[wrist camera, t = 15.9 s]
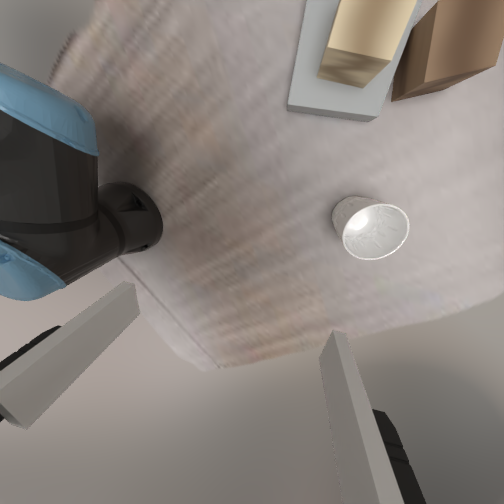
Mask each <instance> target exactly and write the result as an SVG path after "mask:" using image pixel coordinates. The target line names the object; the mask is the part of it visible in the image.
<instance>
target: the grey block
mask: <svg viewBox="0 0 504 504" xmlns="http://www.w3.org/2000/svg"><path fill="white" fill-rule="evenodd" d="M338 3H339V0H307V3H306V8H305V14H304V19H303V24H302V30H301V35H300V40H299V46H298V51H297V56H296V62H295V67H294V72H293V78H292V83H291V88H290V94H289V99H288V104H287V111H292V112H299V113H306V114H314V115H321V116H328V117H335V118H342V119H349V120H357V121H364V122H369V121H371V120H373V119H375V118H377V117H378V116H379V113H380V111H381V108H382V105H383V103H384V100H385V98H386V95H387V92H388V90H389V87H390V84H391V82H392V79H393V76H394V74H395V71H396V69H397V66H398V63H399V61H400V58H401V55H402V53H403V50H404V47H405V45H406V42H407V40H408V37H409V34H410V32H411V29H412V26H413V24H414V21H415V18H416V16H417V13H418V11H419V8H420V5H421V3H422V0H417V2H416V4H415V7H414V9H413V11H412V14H411V16H410V18H409V21H408V23H407V26H406V28H405V30H404V33H403V35H402V37H401V40H400V42H399V44H398V47H397V49H396V51H395V54H394V56H393V59H392V61H391V62H390V63H389V64H388V65H387V66H386V67H385V68H384V69H383V70H382V71H381V72H380V73H378V74H377V75H376V76H375V77H374V78H373V79H372V80H371V81H370V82H369V83H368V84H367V85H366V86H365V87H364V88H359V87H355V86H350V85H346V84H341V83H337V82H333V81H328V80H324V79H319V78H317V74H318V71H319V68H320V64H321V61H322V57H323V54H324V51H325V47H326V44H327V40H328V37H329V33H330V30H331V27H332V23H333V20H334V16H335V13H336V10H337V6H338Z"/></svg>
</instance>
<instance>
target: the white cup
mask: <svg viewBox="0 0 504 504" xmlns="http://www.w3.org/2000/svg"><path fill="white" fill-rule="evenodd" d="M331 219H332V222H333V225H334V228H335V230H336V232H337V234H338V236H339V238H340V240H341V241H342V243H343V245H344V247H345V249H346V250H347V251H348V252H349V253H350V254H351V255H352V256H354V257H356V258H359V259H363V260H375V259H380V258H383V257H386V256H388V255H390V254H392V253H393V252H395V251H396V250H397V249H398V248H399V247H400V246H401V245H402V244H403V243H404V241H405V240H406V238H407V236H408V233H409V227H410V225H409V220H408V217H407V215H406V214H405V213H404V211H403V210H401V209H400V208H398V207H396V206H394V205H391V204H387V203H384V202H381V201H378V200H374V199H370V198H366V197H359V196H352V197H347V198H345V199H343V200H342V201H340V202H339V203H338V204H337V205H336V207H335V208H334V210H333V212H332V218H331Z"/></svg>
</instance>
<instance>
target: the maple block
mask: <svg viewBox="0 0 504 504" xmlns="http://www.w3.org/2000/svg"><path fill="white" fill-rule="evenodd" d="M416 2H417V0H339V3H338V6H337V10H336V13H335V16H334V20H333V23H332V27H331V30H330V33H329V37H328V40H327V44H326V47H325V51H324V54H323V57H322V61H321V64H320V68H319V71H318V74H317V78H319V79H324V80H328V81H333V82H337V83H341V84H346V85H350V86H355V87H359V88H364V87H365V86H366V85H367V84H368V83H369V82H370V81H371V80H372V79H373V78H374V77H375V76H376V75H377V74H378V73H380V72H381V71H382V70H383V69H384V68H385V67H386V66H387V65H388V64H389V63H390V62H391V61H392V59H393V56H394V54H395V51H396V49H397V47H398V44H399V42H400V40H401V37H402V35H403V33H404V30H405V28H406V26H407V23H408V21H409V18H410V16H411V14H412V11H413V9H414V7H415V4H416Z"/></svg>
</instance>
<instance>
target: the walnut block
mask: <svg viewBox="0 0 504 504" xmlns="http://www.w3.org/2000/svg"><path fill="white" fill-rule="evenodd" d="M503 38H504V0H439V1H438V2H437V3H436V4H435V5H434V6H433V7H432V8H431V9H430V10H429V11H428V12H427V13H426V14H425V16H424V17H423V18H422V19H421V20H420V21H419V22H418V23H417V24H416V25H415V26H414V27H413V28H412V29H411V32H410V34H409V37H408V40H407V42H406V45H405V47H404V50H403V53H402V55H401V58H400V61H399V63H398V66H397V69H396V71H395V74H394V82H393V91H392V100H391V102H393V101H398V100H402V99H406V98H411V97H415V96H419V95H424V94H428V93H432V92H437V91H441V90H444V89H446V88H448V87H450V86H453V85H455V84H457V83H459V82H461V81H463V80H465V79H468V78H470V77H472V76H474V75H476V74H478V73H480V72H483V71H485V70H487V69H489V68H491V67H493V66H495V65H496V62H497V59H498V55H499V52H500V48H501V45H502V41H503Z"/></svg>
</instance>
